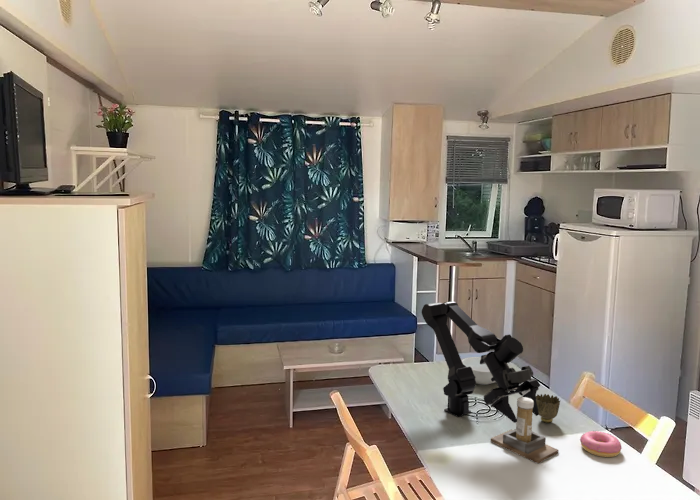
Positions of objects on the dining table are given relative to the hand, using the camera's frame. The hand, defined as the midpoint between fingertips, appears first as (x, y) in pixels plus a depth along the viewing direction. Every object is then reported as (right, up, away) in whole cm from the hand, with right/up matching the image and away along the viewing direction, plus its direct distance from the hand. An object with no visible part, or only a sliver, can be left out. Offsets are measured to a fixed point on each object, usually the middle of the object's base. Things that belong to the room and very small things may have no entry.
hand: (526, 418), depth 155 cm
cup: (+13, -7, +19) cm, 24 cm away
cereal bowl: (0, -3, +55) cm, 55 cm away
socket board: (0, -9, +2) cm, 9 cm away
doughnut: (+21, -10, +1) cm, 24 cm away
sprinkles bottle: (-1, -8, +2) cm, 8 cm away
